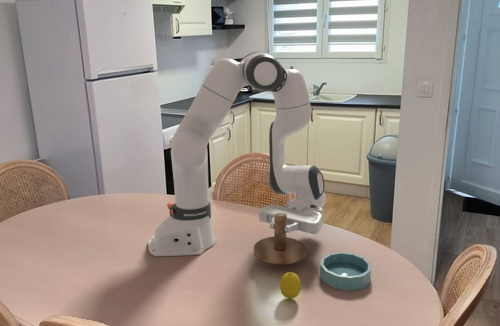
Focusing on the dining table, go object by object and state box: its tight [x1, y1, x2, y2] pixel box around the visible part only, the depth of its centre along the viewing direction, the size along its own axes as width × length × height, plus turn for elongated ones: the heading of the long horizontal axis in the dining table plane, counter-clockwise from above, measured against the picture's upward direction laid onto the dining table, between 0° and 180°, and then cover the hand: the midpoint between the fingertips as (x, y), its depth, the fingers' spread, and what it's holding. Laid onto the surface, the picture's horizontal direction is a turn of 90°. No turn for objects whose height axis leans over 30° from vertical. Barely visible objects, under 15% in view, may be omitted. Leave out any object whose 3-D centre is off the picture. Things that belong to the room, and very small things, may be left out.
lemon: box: [279, 271, 302, 300], centre depth 116 cm, size 6×6×8 cm
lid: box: [253, 213, 307, 266], centre depth 133 cm, size 16×16×12 cm
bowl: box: [319, 251, 372, 292], centre depth 127 cm, size 14×14×4 cm
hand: (279, 228), depth 131 cm, fingers closed on lid, 4 cm apart
